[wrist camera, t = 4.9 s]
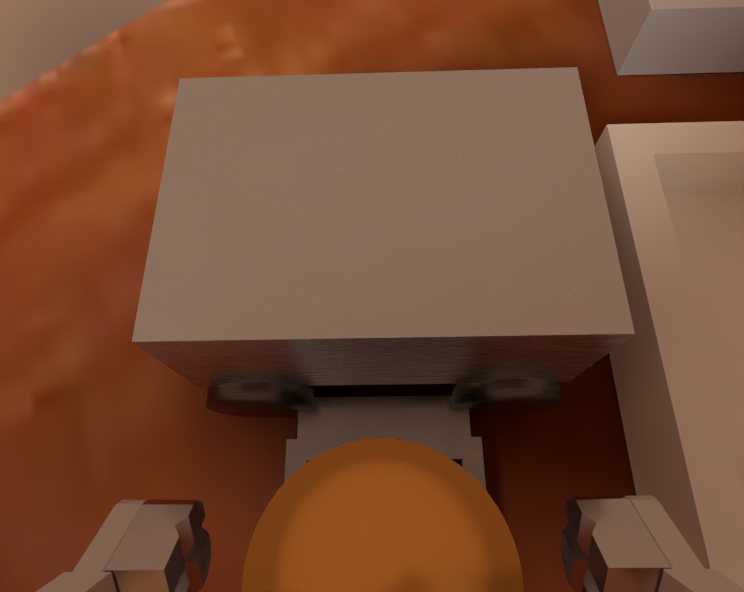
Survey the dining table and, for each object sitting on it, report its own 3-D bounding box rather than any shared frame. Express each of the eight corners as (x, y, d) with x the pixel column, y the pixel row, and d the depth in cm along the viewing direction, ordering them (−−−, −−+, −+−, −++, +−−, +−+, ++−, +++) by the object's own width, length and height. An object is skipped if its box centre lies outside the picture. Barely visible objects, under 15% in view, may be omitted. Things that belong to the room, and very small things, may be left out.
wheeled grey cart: (516, 200, 19) (574, 55, 13) (579, 661, 13) (731, 778, 8) (245, 205, 19) (182, 66, 13) (198, 661, 14) (52, 775, 8)
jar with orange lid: (443, 478, 15) (508, 436, 7) (451, 615, 14) (543, 763, 6) (326, 479, 15) (253, 439, 7) (322, 615, 14) (227, 762, 6)
